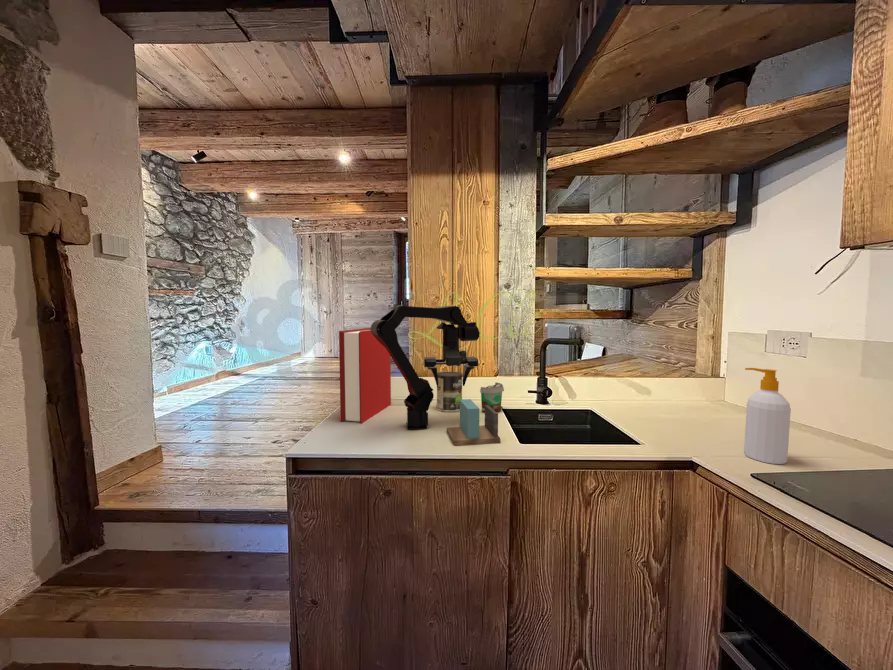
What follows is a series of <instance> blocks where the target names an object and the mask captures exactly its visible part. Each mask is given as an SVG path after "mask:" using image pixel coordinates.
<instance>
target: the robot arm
mask: <svg viewBox="0 0 893 670" xmlns="http://www.w3.org/2000/svg"><path fill="white" fill-rule="evenodd" d="M405 318H419V319H420V318H421V319H434V320H436V321H439V322H440V324H438V326H437V327H436V329H437V330H442V359H441V358H440V359H437V358H436V357H435V356H427V357H426V356H425V357H424V358H423V366H424V368H427V369H428V370H431V372H432V374H433V378H434V382H435V384H436V388H437V387H438V375H437V373H438V368H437V367H438V366H437V365H446V366H447V367H451V366H456V367H460V366H461V365H463V367H462V368H463V369H462V370H463V371H462V387H465V384H466V382H467V379H468V378H469V377H468V376H469V374H470V372H471V371H472V370H474V369H475V367H479V359H478V358H477V357H475V356H467V351H466V350H460V342H475V341H476V342H477V341H478V340H479V338H480V335H481V333H480V329H479V327H478V326H477V322H475V321H470V322H468V321H467V320H466V319H465V317H464V315H463V314H462V310H461V309H460V307H459V306H457V305H445V306H438V307H425V306H415V305H414V306H411V305H410V306H409V305H405V304H397V305H396V306H394V307H393V309H391V310H390V311H389V312H388V313H386V314H384V315H383V316H382V317H381V318H380V319H377V320H375V321H373V322H372V323H371V325H370V328H371V329H370V330H371V333H372V335H373V336H374V337H375V338H376V339H377V340H378V341H379V342H380V343H381V344H382V345H383V346H384V347H385V348H386V349H387V351H388V352H389V354H390V356H391V359H392V361H393V363H394V365H396V368H397V369H398V371H399V372H400V374H401V375H402V377H403V379H404V380H405V382H406V386H407V391H408V393H409V394H408V396H406V398H405V399H404V400H403V404H404V405H405V407H406V428H407V430H426V429H428V426H429V412H428V411H429V409H430V405H431V403H432V401H433V399H434V388H432V387H431V385H430V382H429V380H428V379H424V378H423V377H420V376H419V375H418V373H417V372H416V371H415V369H414V366H413V365H412V363H411V362H410V361H409V360H410V359H408V357H407V355H406V353H405V351H404V350H403V348H402V347H401V345H400V344H399V340H398V339H399V338H398V333H397V331H396V329H397V328H398V327H399V326H400V324H401V323H402V322H403V321H404V319H405ZM447 323H449V324H447Z"/></svg>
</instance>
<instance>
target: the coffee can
mask: <svg viewBox="0 0 893 670" xmlns="http://www.w3.org/2000/svg"><path fill="white" fill-rule="evenodd" d="M437 375H438V387H437V386H436V410H437V411H440V412H444V413H453V412H454V413H455V412H460V400H463V372H458V371H457V372H456V371H440V372H437Z"/></svg>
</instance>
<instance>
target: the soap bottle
mask: <svg viewBox="0 0 893 670" xmlns="http://www.w3.org/2000/svg"><path fill="white" fill-rule="evenodd" d="M744 370H745V371H755V372H756V371H757V372H761V373H764V376H763V377H762V379H760V388H759V390H758V391H756V392H754V393H753V394H751V395H750V396H749V397H748V399H747V402H746V412H745V413H746V414H745V426H744V427H745V428H744V445H743V454H744V455H745V456H746V457H748V458H750V459H752V460H755V461H757V462H762V463H765V464H766V463H767V464H772V465H784V464H786V463H787V462H788V456H789V455H788V454H789V441H790V439H789V438H790V427H791V425H790V424H791V404H790V402H789V401H788V400H787V399H786V397H784V396H783V394H781V393H780V392H779V383H780V382H779V381H778V379H777V377H776V374H777V373H776V372H777V370H776V369H770V368H769V369H768V368H766V369H765V368H764V369H763V368H756V367H745V368H744Z"/></svg>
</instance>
